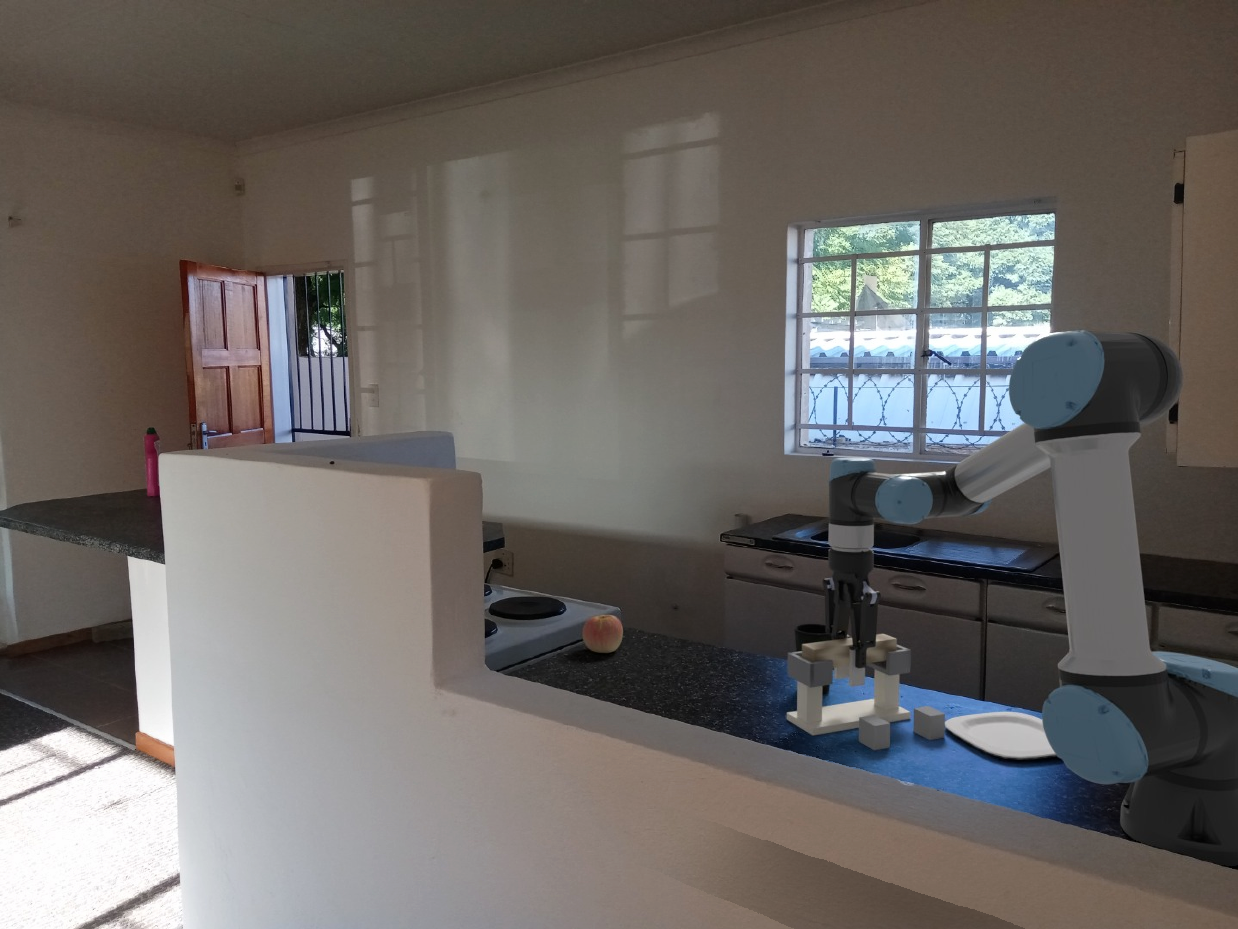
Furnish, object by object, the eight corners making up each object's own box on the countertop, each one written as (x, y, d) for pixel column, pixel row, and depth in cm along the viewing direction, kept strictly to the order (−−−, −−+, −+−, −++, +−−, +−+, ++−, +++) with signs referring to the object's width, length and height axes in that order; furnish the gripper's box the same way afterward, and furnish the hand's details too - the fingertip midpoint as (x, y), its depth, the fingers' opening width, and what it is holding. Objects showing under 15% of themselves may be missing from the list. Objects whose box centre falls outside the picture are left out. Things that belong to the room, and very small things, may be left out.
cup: (835, 698, 167) (836, 635, 166) (793, 696, 169) (794, 633, 168) (834, 685, 175) (834, 624, 174) (794, 682, 176) (794, 622, 176)
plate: (1002, 771, 136) (1002, 760, 136) (930, 728, 154) (931, 718, 154) (1100, 757, 141) (1101, 747, 141) (1020, 717, 158) (1021, 708, 158)
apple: (617, 658, 194) (617, 621, 193) (578, 655, 196) (577, 619, 195) (627, 647, 202) (626, 611, 201) (588, 644, 204) (588, 609, 203)
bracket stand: (911, 718, 157) (913, 651, 156) (811, 735, 149) (812, 665, 148) (882, 703, 164) (883, 639, 163) (785, 719, 157) (785, 652, 156)
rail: (883, 653, 161) (883, 633, 161) (896, 659, 158) (896, 638, 157) (801, 664, 155) (802, 644, 154) (813, 670, 151) (813, 649, 151)
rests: (944, 737, 148) (945, 713, 148) (874, 750, 143) (874, 726, 143) (927, 729, 152) (928, 706, 152) (858, 741, 147) (859, 717, 147)
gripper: (901, 554, 148) (898, 693, 150) (840, 539, 164) (838, 665, 165) (863, 557, 145) (860, 699, 147) (805, 541, 161) (803, 670, 163)
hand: (849, 681), depth 156 cm, fingers closed on rail, 4 cm apart
